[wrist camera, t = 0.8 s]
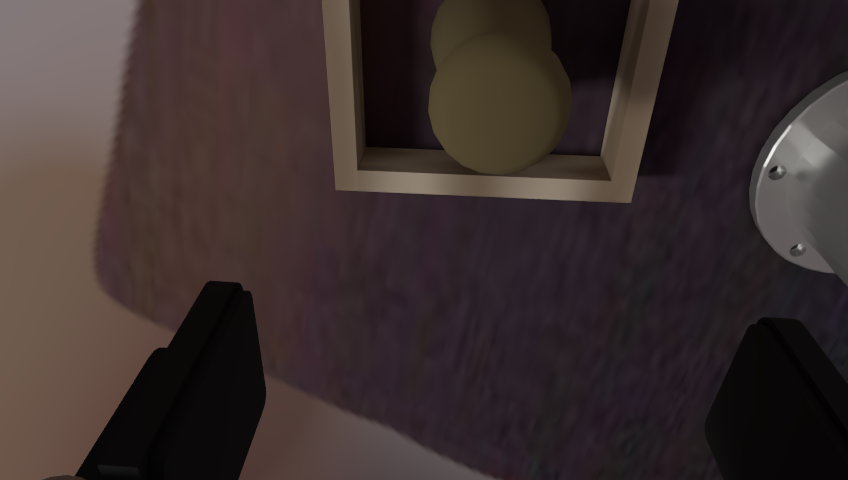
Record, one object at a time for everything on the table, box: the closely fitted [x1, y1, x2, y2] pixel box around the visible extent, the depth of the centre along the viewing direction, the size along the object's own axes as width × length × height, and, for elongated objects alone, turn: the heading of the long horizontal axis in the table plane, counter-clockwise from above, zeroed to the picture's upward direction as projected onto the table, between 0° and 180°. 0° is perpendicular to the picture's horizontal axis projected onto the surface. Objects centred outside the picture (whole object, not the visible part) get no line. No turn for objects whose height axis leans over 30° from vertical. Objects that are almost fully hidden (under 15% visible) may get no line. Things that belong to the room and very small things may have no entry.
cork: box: [428, 0, 572, 175], centre depth 25 cm, size 6×6×11 cm
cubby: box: [322, 0, 679, 203], centre depth 28 cm, size 15×13×3 cm
